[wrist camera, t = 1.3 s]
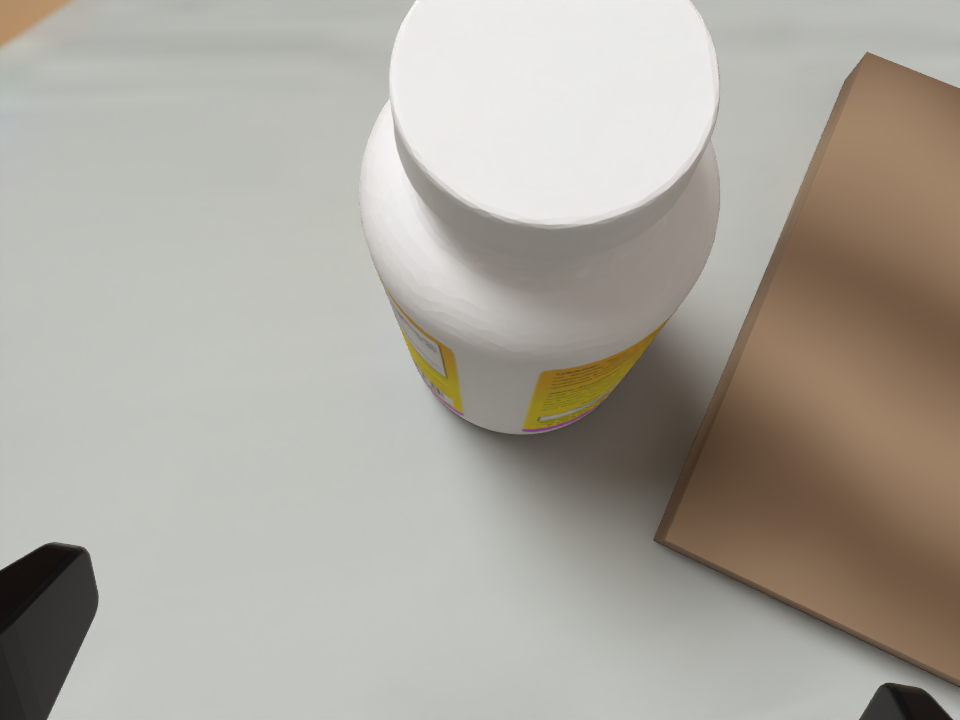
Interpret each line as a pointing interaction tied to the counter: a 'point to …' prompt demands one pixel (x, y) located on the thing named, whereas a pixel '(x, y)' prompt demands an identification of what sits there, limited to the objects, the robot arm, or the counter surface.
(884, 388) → the walnut board
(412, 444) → the counter surface
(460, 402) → the supplement bottle
